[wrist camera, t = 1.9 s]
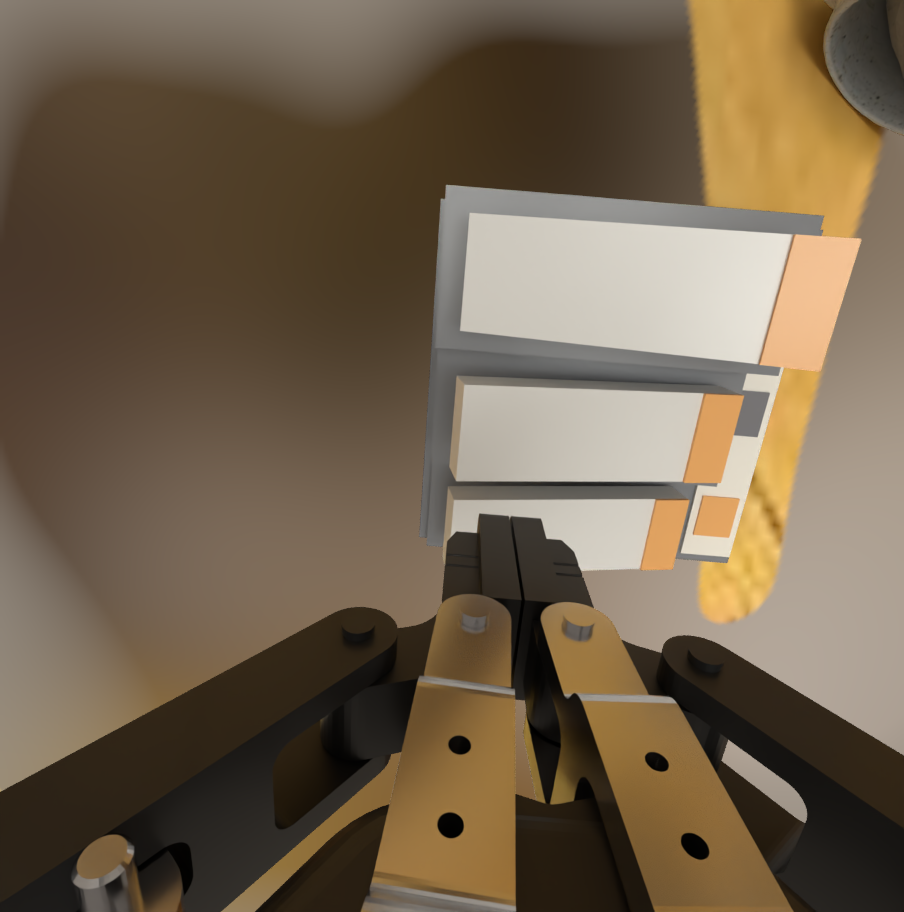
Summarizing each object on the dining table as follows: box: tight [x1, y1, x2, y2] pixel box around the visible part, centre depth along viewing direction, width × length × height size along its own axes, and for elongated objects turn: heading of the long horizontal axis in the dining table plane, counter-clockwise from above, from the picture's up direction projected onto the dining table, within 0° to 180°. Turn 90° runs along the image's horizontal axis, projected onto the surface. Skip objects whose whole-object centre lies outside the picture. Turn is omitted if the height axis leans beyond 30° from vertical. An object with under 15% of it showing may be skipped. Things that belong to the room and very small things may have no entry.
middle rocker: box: [449, 376, 744, 483], centre depth 23 cm, size 4×12×2 cm, turn 86°
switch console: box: [419, 185, 824, 563], centre depth 26 cm, size 18×18×8 cm
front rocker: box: [460, 213, 861, 372], centre depth 19 cm, size 4×12×2 cm, turn 85°
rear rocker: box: [442, 486, 690, 571], centre depth 28 cm, size 4×12×2 cm, turn 86°
